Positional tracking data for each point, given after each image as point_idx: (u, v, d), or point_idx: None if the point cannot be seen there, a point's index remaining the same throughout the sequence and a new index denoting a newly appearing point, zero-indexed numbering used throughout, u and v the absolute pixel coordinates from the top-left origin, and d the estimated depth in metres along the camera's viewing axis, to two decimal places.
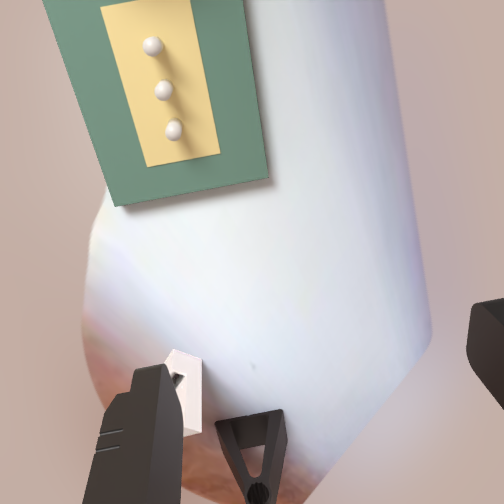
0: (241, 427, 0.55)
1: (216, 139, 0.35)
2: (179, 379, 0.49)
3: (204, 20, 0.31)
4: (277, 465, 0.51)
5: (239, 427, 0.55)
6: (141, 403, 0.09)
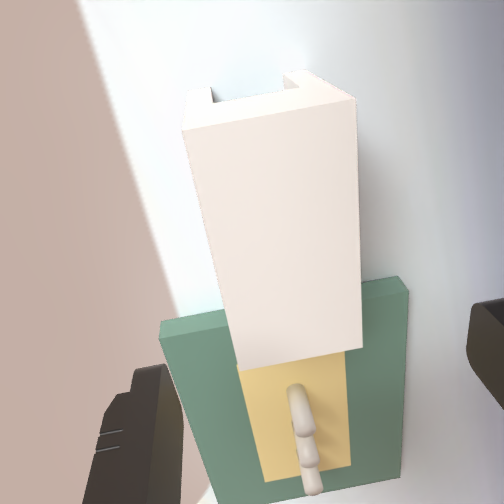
0: None
1: (348, 454, 0.30)
2: None
3: (357, 365, 0.26)
4: None
5: None
6: (141, 403, 0.09)
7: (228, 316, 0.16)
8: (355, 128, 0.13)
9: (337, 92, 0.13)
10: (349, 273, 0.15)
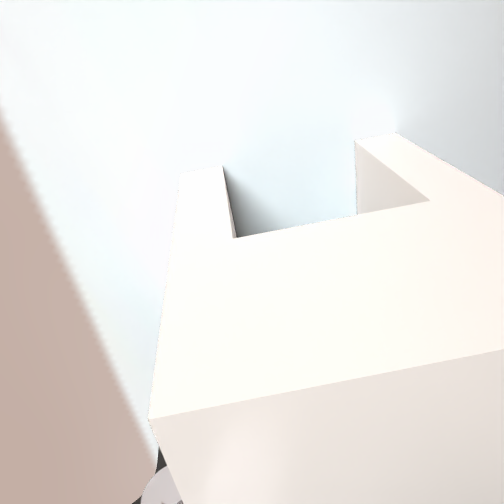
0: None
1: None
2: None
3: None
4: None
5: None
6: None
7: None
8: None
9: None
10: None
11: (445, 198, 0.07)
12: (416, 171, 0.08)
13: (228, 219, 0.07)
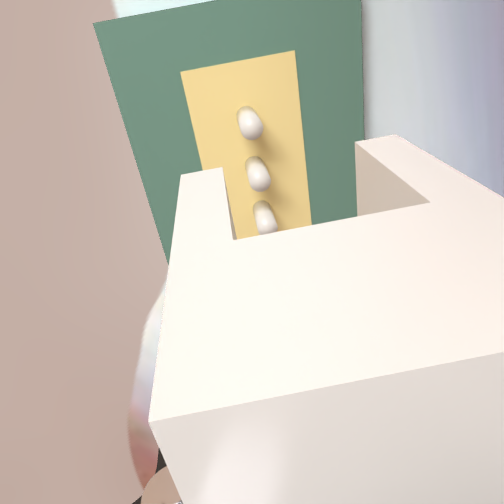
0: None
1: (309, 223, 0.29)
2: None
3: (311, 85, 0.24)
4: None
5: None
6: None
7: None
8: None
9: None
10: None
11: (445, 200, 0.07)
12: (416, 172, 0.08)
13: (228, 220, 0.07)
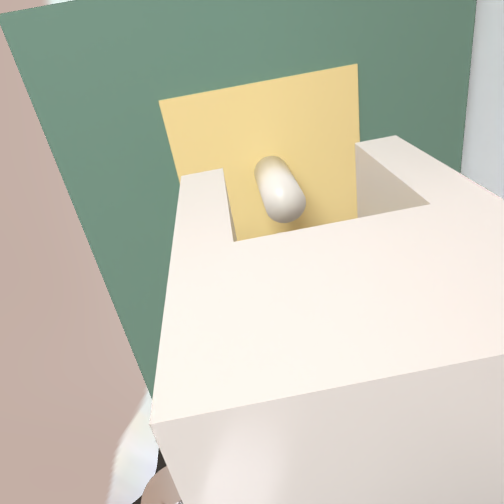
0: None
1: None
2: None
3: (380, 122, 0.14)
4: None
5: None
6: None
7: None
8: None
9: None
10: None
11: (445, 201, 0.07)
12: (416, 174, 0.08)
13: (229, 222, 0.07)
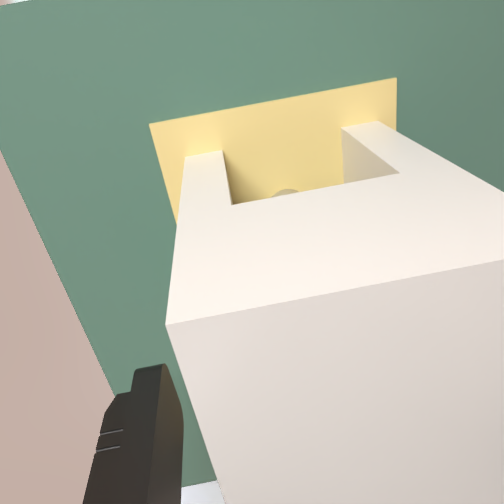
0: None
1: None
2: None
3: None
4: None
5: None
6: (141, 403, 0.09)
7: None
8: None
9: None
10: None
11: (412, 171, 0.08)
12: (391, 151, 0.09)
13: (227, 191, 0.08)
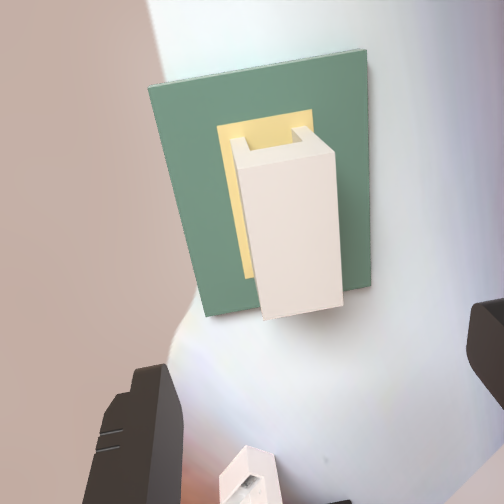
0: None
1: None
2: (250, 476, 0.46)
3: (325, 137, 0.29)
4: None
5: None
6: (141, 403, 0.09)
7: (258, 282, 0.25)
8: (335, 168, 0.22)
9: (325, 147, 0.23)
10: (333, 255, 0.25)
11: (307, 140, 0.25)
12: (304, 135, 0.26)
13: (248, 147, 0.25)
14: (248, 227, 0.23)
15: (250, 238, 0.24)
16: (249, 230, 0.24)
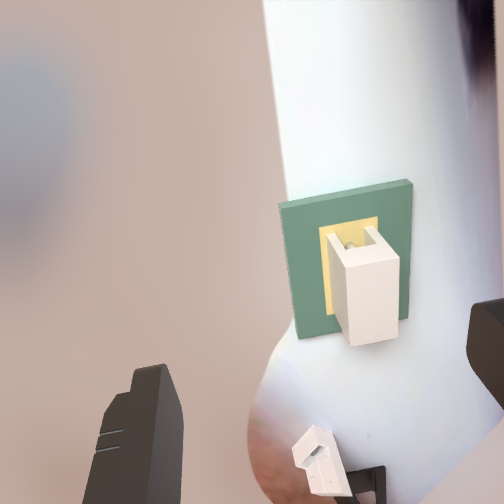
0: (351, 479, 0.70)
1: None
2: None
3: (384, 231, 0.46)
4: None
5: (350, 479, 0.70)
6: (141, 403, 0.09)
7: (349, 325, 0.43)
8: (399, 265, 0.40)
9: (392, 251, 0.40)
10: (394, 310, 0.42)
11: (379, 243, 0.42)
12: (375, 237, 0.43)
13: (343, 246, 0.43)
14: (347, 296, 0.41)
15: (348, 302, 0.41)
16: (348, 298, 0.41)
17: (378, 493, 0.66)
